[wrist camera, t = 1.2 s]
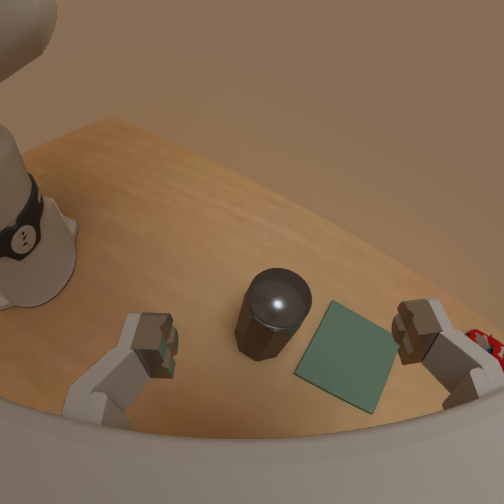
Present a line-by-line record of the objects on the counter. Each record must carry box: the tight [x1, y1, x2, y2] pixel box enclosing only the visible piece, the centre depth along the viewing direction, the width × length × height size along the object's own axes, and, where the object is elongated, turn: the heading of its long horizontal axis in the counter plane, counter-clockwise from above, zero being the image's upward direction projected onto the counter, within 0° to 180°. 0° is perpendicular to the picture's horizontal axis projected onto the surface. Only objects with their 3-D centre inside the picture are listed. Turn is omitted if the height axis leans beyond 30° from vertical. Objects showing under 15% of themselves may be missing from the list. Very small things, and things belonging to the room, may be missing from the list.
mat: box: [294, 300, 399, 414], centre depth 38 cm, size 12×12×1 cm
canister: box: [235, 268, 312, 361], centre depth 34 cm, size 6×6×12 cm
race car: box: [466, 329, 504, 372], centre depth 39 cm, size 13×5×4 cm, turn 54°
